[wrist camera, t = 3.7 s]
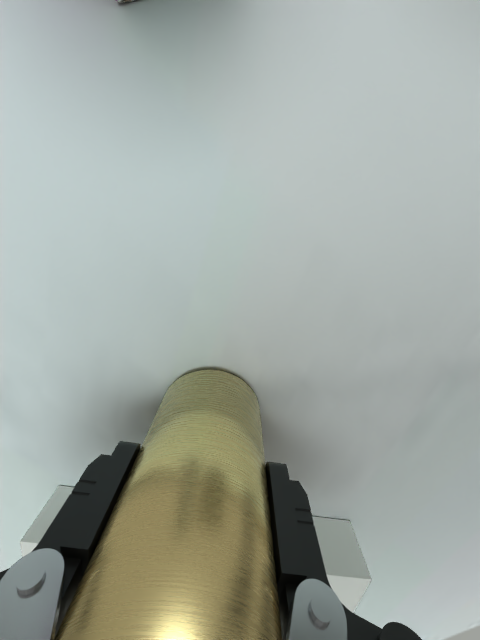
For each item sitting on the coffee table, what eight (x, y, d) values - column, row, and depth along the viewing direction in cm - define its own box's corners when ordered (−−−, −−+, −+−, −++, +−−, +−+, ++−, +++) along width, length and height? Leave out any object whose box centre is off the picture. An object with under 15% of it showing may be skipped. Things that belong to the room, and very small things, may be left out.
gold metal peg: (268, 377, 13) (319, 661, 5) (250, 456, 15) (261, 773, 6) (166, 362, 13) (16, 631, 4) (158, 444, 14) (40, 755, 6)
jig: (349, 520, 17) (371, 579, 14) (291, 653, 22) (298, 716, 19) (58, 485, 16) (19, 541, 13) (68, 633, 21) (42, 696, 18)
